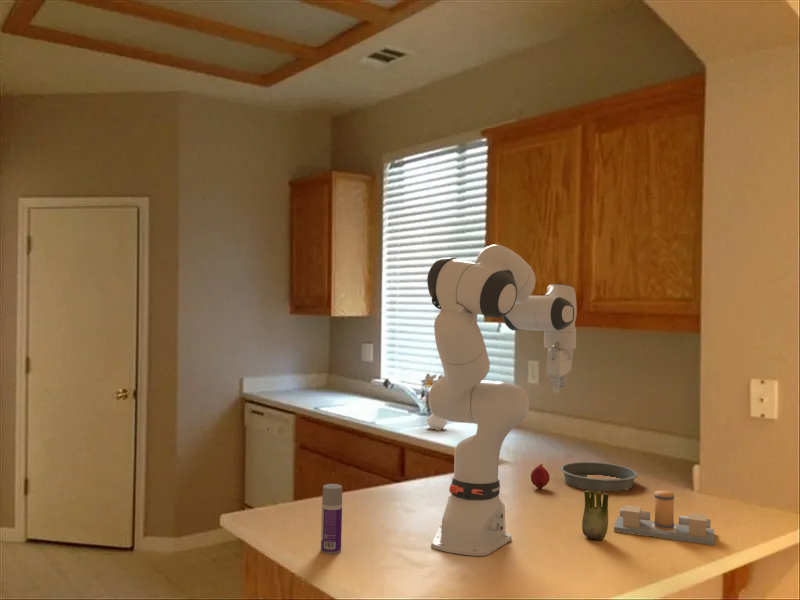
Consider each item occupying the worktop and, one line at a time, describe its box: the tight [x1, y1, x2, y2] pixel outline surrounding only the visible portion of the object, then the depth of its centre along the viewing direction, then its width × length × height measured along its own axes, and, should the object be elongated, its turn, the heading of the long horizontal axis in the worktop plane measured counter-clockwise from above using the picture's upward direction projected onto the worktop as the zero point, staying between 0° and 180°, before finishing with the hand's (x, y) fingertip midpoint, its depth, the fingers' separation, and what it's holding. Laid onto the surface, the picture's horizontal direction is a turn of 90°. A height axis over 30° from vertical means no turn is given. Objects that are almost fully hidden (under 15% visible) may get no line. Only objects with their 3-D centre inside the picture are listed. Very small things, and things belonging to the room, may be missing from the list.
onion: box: [530, 463, 551, 490], centre depth 229 cm, size 6×6×8 cm
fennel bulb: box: [581, 490, 609, 541], centre depth 182 cm, size 6×5×12 cm
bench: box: [613, 504, 716, 546], centre depth 188 cm, size 10×24×5 cm, turn 68°
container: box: [320, 483, 343, 555], centre depth 169 cm, size 5×5×15 cm
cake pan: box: [560, 461, 639, 492], centre depth 239 cm, size 25×25×4 cm
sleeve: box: [654, 489, 675, 530], centre depth 188 cm, size 5×5×9 cm
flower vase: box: [421, 373, 448, 431], centre depth 332 cm, size 13×18×25 cm
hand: (558, 390), depth 205 cm, fingers open, 8 cm apart
